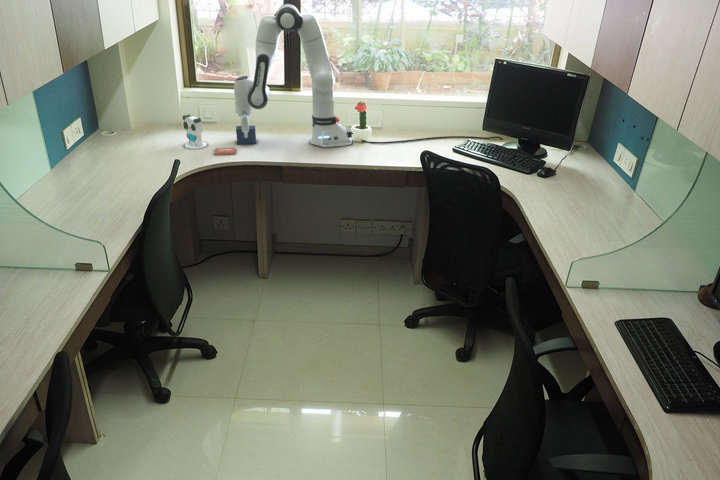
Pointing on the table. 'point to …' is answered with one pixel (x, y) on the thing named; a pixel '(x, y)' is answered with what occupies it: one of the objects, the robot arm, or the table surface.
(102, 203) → the table surface
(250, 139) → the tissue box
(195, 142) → the panda figurine
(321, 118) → the robot arm
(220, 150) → the tissue packet
